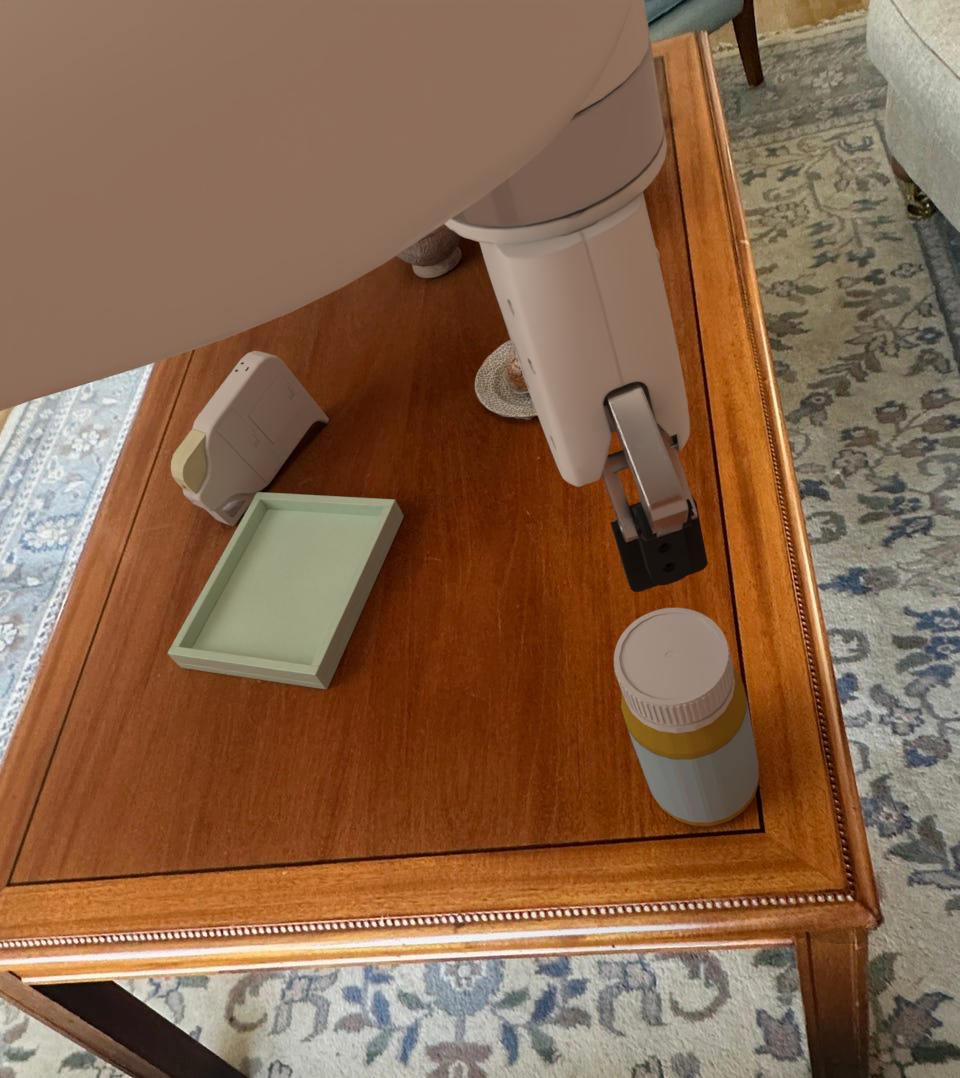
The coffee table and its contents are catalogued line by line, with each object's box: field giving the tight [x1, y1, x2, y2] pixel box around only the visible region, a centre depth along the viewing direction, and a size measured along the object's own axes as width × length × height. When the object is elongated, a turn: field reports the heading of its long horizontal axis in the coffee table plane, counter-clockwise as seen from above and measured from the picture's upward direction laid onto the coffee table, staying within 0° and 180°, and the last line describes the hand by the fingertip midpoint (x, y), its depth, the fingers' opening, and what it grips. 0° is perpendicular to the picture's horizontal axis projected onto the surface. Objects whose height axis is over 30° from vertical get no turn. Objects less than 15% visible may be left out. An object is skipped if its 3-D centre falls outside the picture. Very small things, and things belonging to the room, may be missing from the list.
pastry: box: [474, 339, 538, 421], centre depth 91 cm, size 12×12×5 cm
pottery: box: [395, 224, 463, 279], centre depth 102 cm, size 11×25×12 cm, turn 74°
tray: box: [166, 491, 405, 690], centre depth 84 cm, size 18×15×2 cm
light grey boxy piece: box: [170, 350, 330, 527], centre depth 92 cm, size 11×3×15 cm
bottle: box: [613, 607, 760, 827], centre depth 58 cm, size 7×7×15 cm
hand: (632, 494), depth 43 cm, fingers open, 9 cm apart
